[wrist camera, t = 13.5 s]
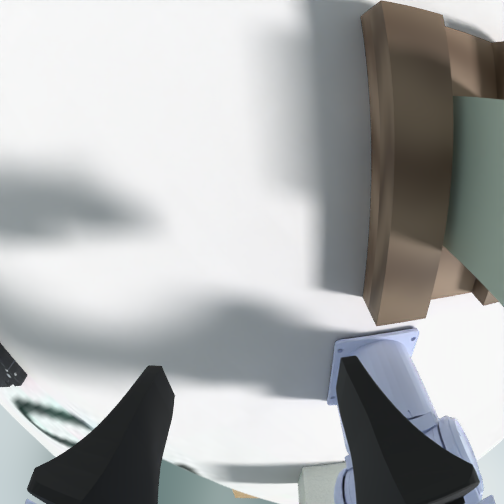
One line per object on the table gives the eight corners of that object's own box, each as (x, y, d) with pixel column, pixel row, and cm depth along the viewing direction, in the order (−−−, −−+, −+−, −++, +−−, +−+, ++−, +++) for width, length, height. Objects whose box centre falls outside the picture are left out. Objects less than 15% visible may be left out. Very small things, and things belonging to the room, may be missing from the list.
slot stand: (492, 277, 21) (512, 298, 18) (362, 297, 22) (376, 326, 19) (511, 57, 12) (539, 57, 9) (360, 16, 13) (380, 0, 10)
